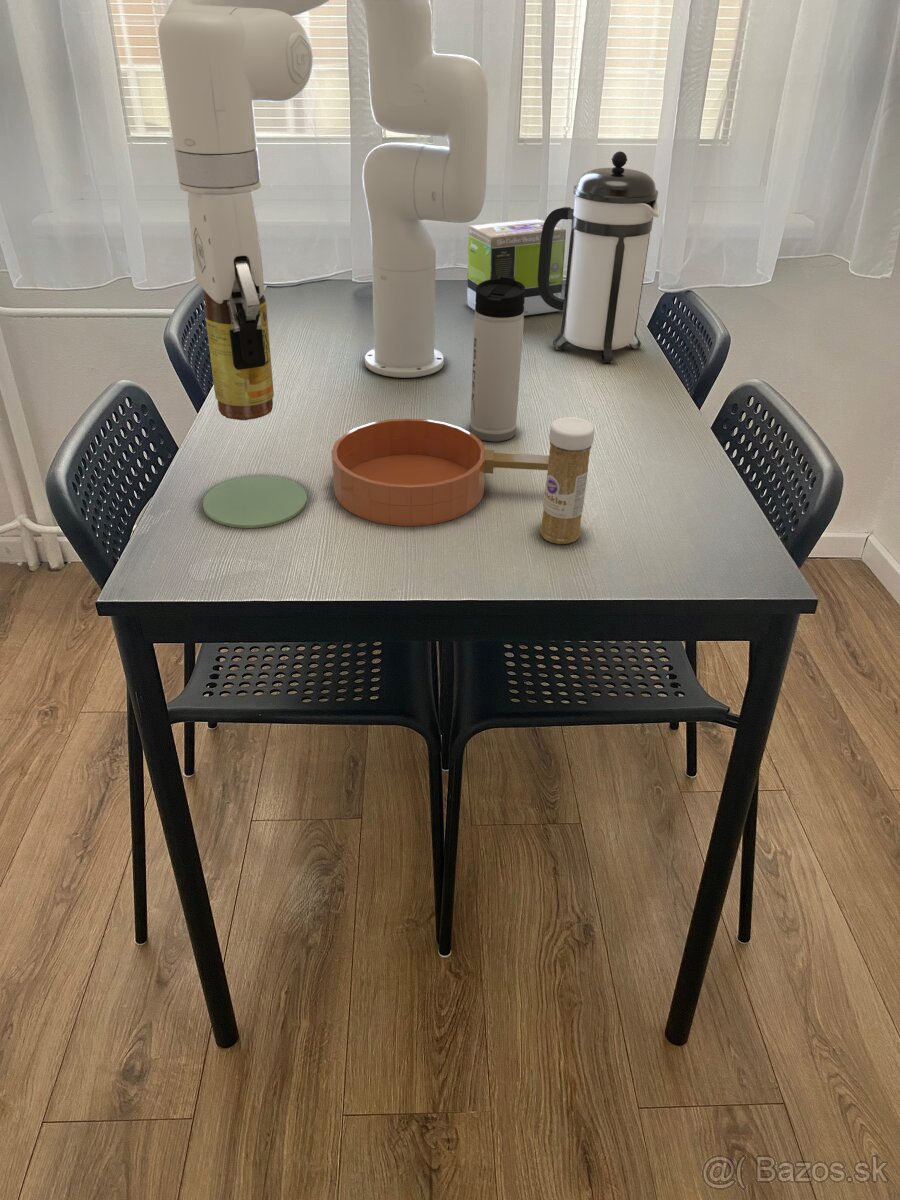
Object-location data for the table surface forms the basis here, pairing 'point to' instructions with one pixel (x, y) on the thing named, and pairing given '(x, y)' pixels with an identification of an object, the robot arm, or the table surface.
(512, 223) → the tea box
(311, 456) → the table surface
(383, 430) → the pan
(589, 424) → the sprinkles bottle
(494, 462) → the pan handle
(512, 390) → the travel mug
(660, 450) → the table surface
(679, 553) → the table surface
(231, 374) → the sauce bottle
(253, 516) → the trivet
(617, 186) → the coffee press
